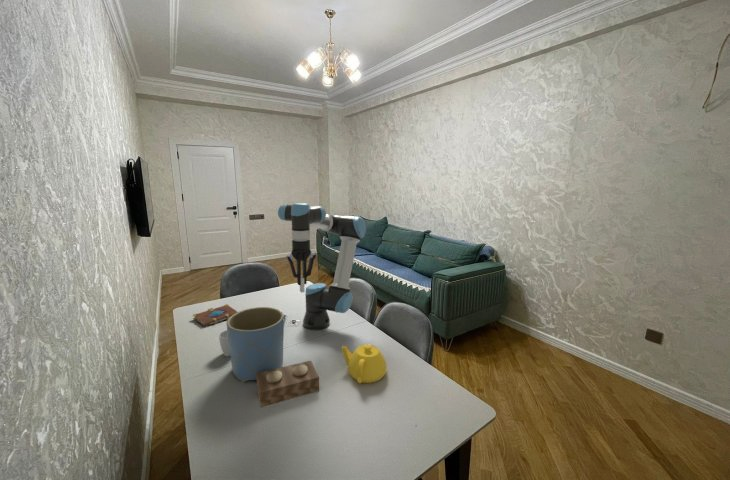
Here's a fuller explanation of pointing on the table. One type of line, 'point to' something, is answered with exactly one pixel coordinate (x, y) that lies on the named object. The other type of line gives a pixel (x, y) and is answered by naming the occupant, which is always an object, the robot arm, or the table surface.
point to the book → (214, 315)
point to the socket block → (287, 384)
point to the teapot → (365, 363)
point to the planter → (255, 341)
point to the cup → (224, 343)
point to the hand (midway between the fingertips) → (302, 291)
